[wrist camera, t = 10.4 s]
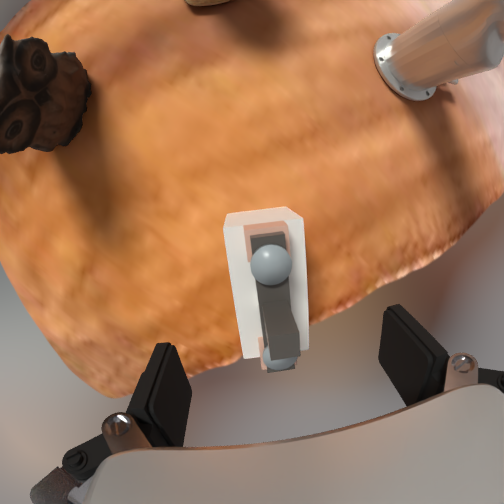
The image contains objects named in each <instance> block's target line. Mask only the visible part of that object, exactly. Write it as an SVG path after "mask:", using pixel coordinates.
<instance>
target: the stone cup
mask: <svg viewBox="0 0 504 504" xmlns="http://www.w3.org/2000/svg"><path fill="white" fill-rule="evenodd" d="M185 1H186V2H187V3H188V4H190V5H193V6H208V5H215V4H220V3H224V2H227V1H230V0H185Z"/></svg>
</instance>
